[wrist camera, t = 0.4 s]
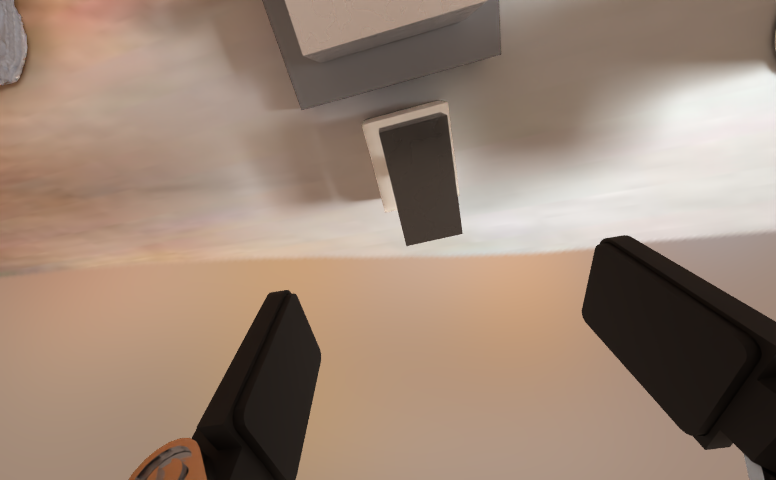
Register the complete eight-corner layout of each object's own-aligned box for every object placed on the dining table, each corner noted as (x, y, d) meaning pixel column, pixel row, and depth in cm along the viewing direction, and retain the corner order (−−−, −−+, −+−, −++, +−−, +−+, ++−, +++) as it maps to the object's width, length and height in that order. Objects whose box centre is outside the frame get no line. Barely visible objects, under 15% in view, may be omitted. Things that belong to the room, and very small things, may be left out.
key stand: (438, 100, 29) (447, 102, 25) (450, 182, 33) (459, 195, 29) (364, 120, 30) (361, 125, 26) (384, 198, 34) (385, 212, 30)
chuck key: (423, 105, 28) (447, 114, 18) (437, 188, 32) (462, 233, 22) (379, 116, 29) (378, 132, 19) (399, 197, 33) (406, 245, 23)
